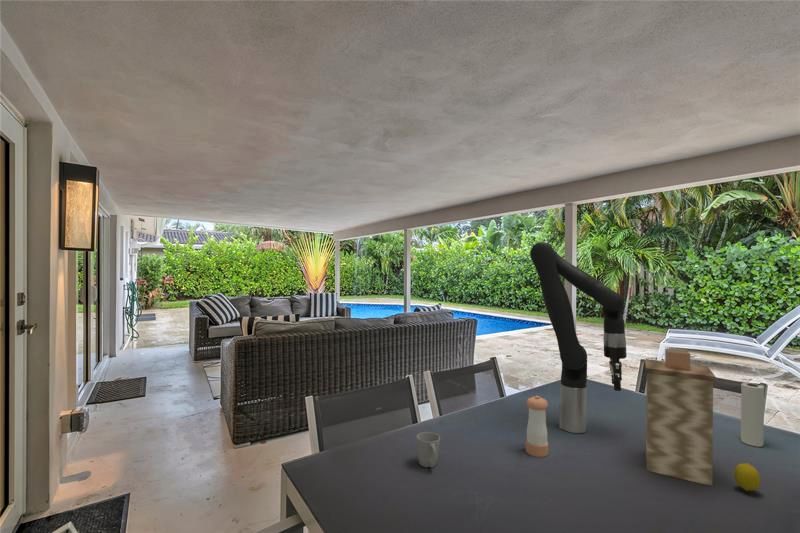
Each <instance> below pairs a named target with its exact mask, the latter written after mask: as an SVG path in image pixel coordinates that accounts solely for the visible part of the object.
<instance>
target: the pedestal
mask: <svg viewBox="0 0 800 533" xmlns="http://www.w3.org/2000/svg"><path fill="white" fill-rule="evenodd" d="M644 366H645V374H646V380H645V381H646V396H645V397H646V398H645V404H646V405H645V414H646V415H645V460H646V470H647V471H648V472H652V473H657V474H660V475H665V476H667V477H673V478H676V479H681V480H686V481H688V482H689V481H690V482H694V483H697V484H702V485H706V486H710V487H713V459H714V458H713V456H714V455H713V454H714V450H713V448H714V445H713V444H714V441H713V439H714V437H713V436H714V431H713V430H714V383H716V382H717V380H716V378H717V377H716V375H715V374H714V373H713V371H712V370H711V369H710V367H709V366H708V365H701V364H694V363H690V370H681V369H673V368H666V365H665V360H657V359H648V358H644Z"/></svg>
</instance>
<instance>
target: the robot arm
mask: <svg viewBox="0 0 800 533" xmlns="http://www.w3.org/2000/svg"><path fill="white" fill-rule="evenodd" d="M529 252H530V253H529V256H530V258H531V261H532V264H533V266H534V267H535V271H536V272H537V275H538V280H539V282H540V289H541V293H542V299H543V303H544V305H545V309H546V312H547V314H548V317H549V320H550V323H551V326H552V328H553V330H554V334H555V336H556V337H555V338H556V342H557V346H558V352H559V358H560V362H561V374H560V403H559V419H558V420H559V426H558V427H559V429H560V430H563V431H565V432H569V433H573V434H584V433H585V432H586V431H587V382H588V380H587V379H588V353H587V350H586V348H585V347H584V346H583V345H582V344H581V343H580V340H579V338H578V335H577V333H576V332H577V331H576V329H575V320H574V319H575V318H574V313H573V307H572V305H571V301H570V297H569V295H568V292H567V289H566V288H565V285H564V283H563V281H562V279H561V277H562V278H563V279H564V280H566V281H567V282H568V283H569V284H571V286H573V287H575V288H576V289H578V290H579V291H580V292H582V293H584V294H585V295H586V296H588V297H590V298H591V299H594V300H595V302H597V303H598V304H600V305H601V306H602V311H603V312H602V314H603V339H602V340H603V356H604V357H605V358H608V359H609V361H608V362H609V363H608V364H609V371H610V375H611V384H612V385H613V390H614V391H616V392H621V390H622V383H621V382H622V381H623V378H622V377H623V376H622V374H623V370H622V368H623V363H622V362H621V361H620V360H621V359H622V360H623V359H626V358H627V339H626V329H625V325H626V324H625V320H624V312H623V311H624V309H623V308H624V306H625V299H624V297H623V296H622V295H621V294H620V293H618V292H616V291H614V290H613V289H611V288H610V287H608V286H606V285H604V284H603V283H602V281H600V280H599V279H597V278H595V277H594V276H593V275H591V274H589V273H588V272H587V271H584V270H583V269H581V268H579V267H577V266H575V265H574V264H572V263H570V262H569V261H567V260H565V258H563V257H562V256H561V255H559V253H558V252H556V251H555V250H554V247H553V246H552V245H551V244H550V243H548V242H544V241H540V242H537V243H535V244H533V246H532V247H531V248H530V251H529ZM560 276H561V277H560Z"/></svg>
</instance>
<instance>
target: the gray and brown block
mask: <svg viewBox="0 0 800 533" xmlns="http://www.w3.org/2000/svg"><path fill="white" fill-rule="evenodd" d="M664 350H665V351H664V358H665V359H664V361H665V365H666V368H673V369H681V370H690V364H691V353H690V351H688V350H683V349H682V350H681V349H673V348H664Z"/></svg>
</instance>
